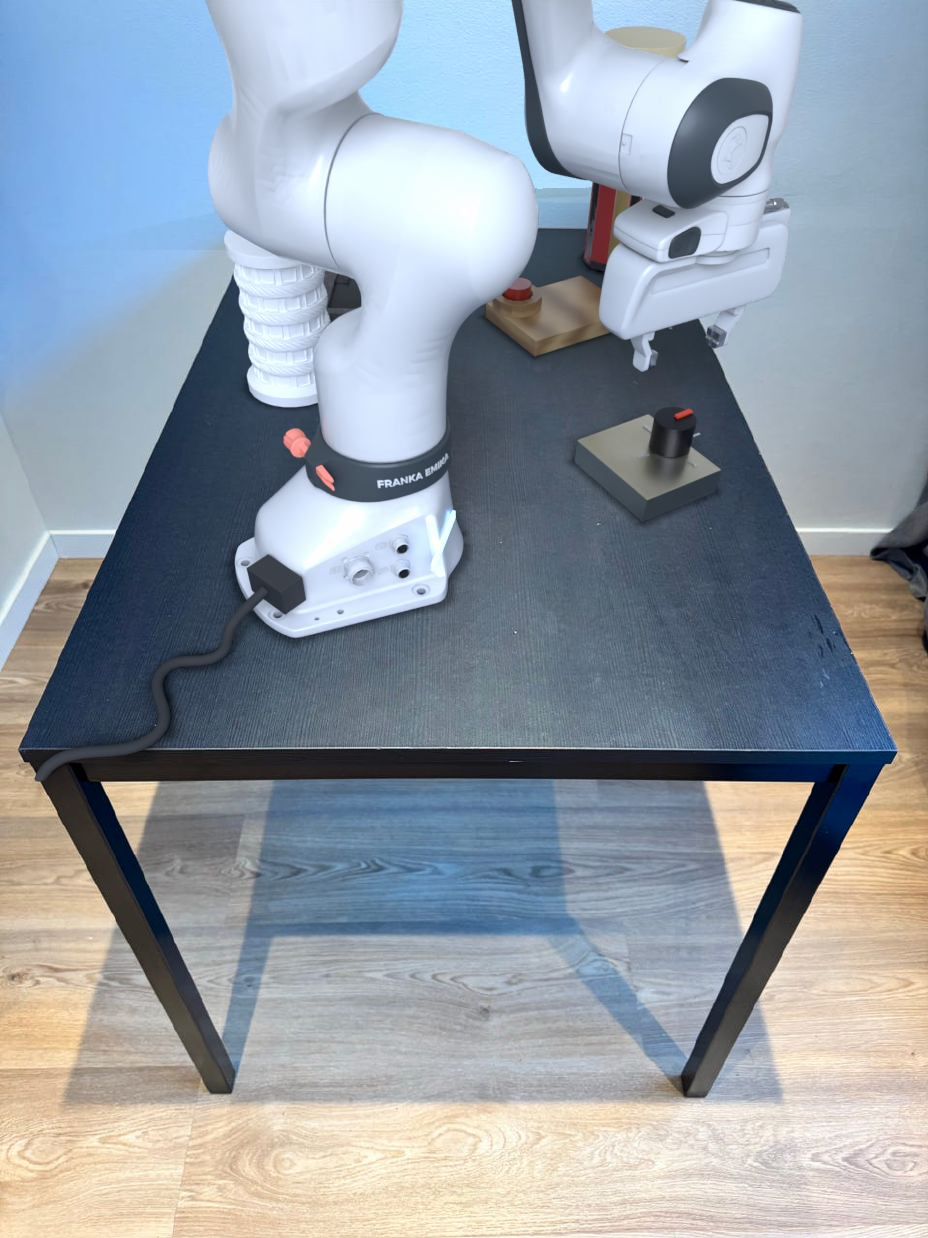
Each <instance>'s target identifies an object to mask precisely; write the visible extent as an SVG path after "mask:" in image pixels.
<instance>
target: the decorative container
mask: <svg viewBox="0 0 928 1238" xmlns="http://www.w3.org/2000/svg"><path fill="white" fill-rule="evenodd" d="M223 241H224V246H225V252H226V256H227V257H228V258H229V259H230V261H233V262H234V267H233V279H234V281H235V283H236V286H237V287H238V289H239V295H238V305H239V308H240V311H241V313H242V314H243V316H244V317H243V318H244V320H243V331H244V335H245V337H246V340H248V343H249V344H248V346H247V347H248V350H247V354H248V359H249V360H250V363H251V366H250V367H249V368H248V370H247V373H246V379H247V385H248V390H249V392H250V393H251V395H252V396H253V397H254V398H255V399H257V400H258V401H260V402H262V403H264V404H267V405H270V406H274V407H281V408H299V407H306V406H311V405H314V404H318V399H317V391H316V383H315V375H314V366H313V355H314V351H315V348H316V345H317V343H318V340H319V338H320V336H321V335H322V333H323V331H324V330H325V329H326V328H327V326H328V325H329V324H330V322H331V320H330V317H329V315H328V312H327V309H326V307H327V303H328V297H327V296H328V294H327V291H326V288H325V286H324V282H323V281H324V277H325V270H322V269H319V268H315V267H311V266H307V265H304V264H300V263H296V262H293V261H289V260H285V259H282V258H279V257H278V256H276V255H274V254H272V253H270V252H268V251H266V250H264V249H262V248H260V247H258V246H257V245H255V244H253V243H251V242H250V241H248V240H246V239H244V238H243V237H241V236H239V235H237V234H236V233H234V232H233V231H231V230H230V229H229V228H228V230H227V231H226V232H225V234H224V236H223Z"/></svg>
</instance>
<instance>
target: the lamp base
mask: <svg viewBox="0 0 928 1238" xmlns="http://www.w3.org/2000/svg"><path fill="white" fill-rule="evenodd" d="M601 290H602V287H599V286H598V285H596V284H594V283H593V282H591V281H590V280H589V279H587V278H585V277H584V276H582V275H579V276H575V277H570V278H567V279H564V280H561V281H557V282H554V283H553V282H552V283H549V284H546V285H542V286H539V287H537V286H536V285H534V284H531V297H530V299H527V300H524V301H512V300H509V299H506V298H505V297H504V293H502V294H501V295H500V296H498V297H497V298H496V299H494V300H492V301H490V302H488V303H486V304H485V318H486V319H487V320H488V321H490V322H491V323H492V324H493V325H495V326H496V327H497V328H499V330H501V331H502V332H504V333H505V334H506V335H507V336H508V337H509V338H511V339H512V340H513V341H515V342H516V343H518V345H520V346H521V347H522V348H523V349H525V350H526V351H527V352H528V353H530V355H532V356H533V357H537V356H541V355H543V354H547V353H550V352H553V351H556V350H559V349H563V348H566V347H569V346H572V345H575V344H578V343H582V342H585V341H587V340H591V339H594V338H598V337H600V336H605V335H606V334H610V333H611V332H610V331H609V330H607V329H606V328H605V327H604V326H603V324H602V323H601V321H600V319H599V304H600V296H601Z"/></svg>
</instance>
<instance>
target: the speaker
mask: <svg viewBox="0 0 928 1238" xmlns="http://www.w3.org/2000/svg"><path fill="white" fill-rule="evenodd" d="M591 182H592V181H591ZM615 197H616V190H615V189H612V188H609V187H606V186H604V185H601V184H598V183H595V182H592V183H591V191H590V202H589V210H588V218H587V219H588V220H587V227H586V228H587V229H586V237H585V246H584V250H583V251H582V252H583V254H582V261H583V262H584V264H585V265H586V266H588V267H589V269H592V270H594V271H597V272H598V271H600V272H601V271H602V272H605V270H606V266H607V258H608V250H609V243H610V235H611V228H612V220H613V212H614V205H615ZM642 199H644V198H642V197H639V196H634V195H631V197H630V204H629V208H630V207H631V206H633V205H635V204H636V203H638V202H639V201H641V200H642Z"/></svg>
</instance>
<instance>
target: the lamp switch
mask: <svg viewBox="0 0 928 1238" xmlns="http://www.w3.org/2000/svg"><path fill="white" fill-rule="evenodd" d="M531 285H532V281H531V280H530V279H527V278H525V277H524V278H523V277H520V276H519V277H518V279H517V280H516V281H515V282H514V283H513V284H512V285H511V286H510V287H509V288H508V289H507V290H506V291H505V292H504V297H505V298H506V299H509V300H512V301H524V300H527V299H530V297H531Z"/></svg>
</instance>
